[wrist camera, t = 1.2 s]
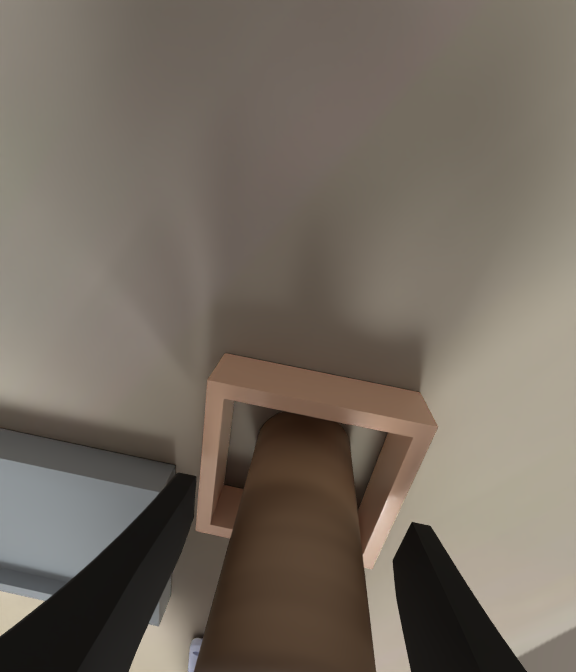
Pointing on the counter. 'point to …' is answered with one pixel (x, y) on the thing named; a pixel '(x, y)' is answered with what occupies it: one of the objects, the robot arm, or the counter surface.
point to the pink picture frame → (325, 403)
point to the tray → (67, 509)
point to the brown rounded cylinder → (293, 560)
